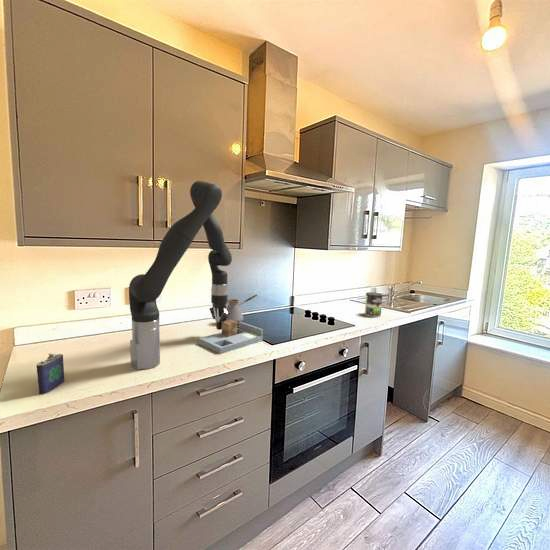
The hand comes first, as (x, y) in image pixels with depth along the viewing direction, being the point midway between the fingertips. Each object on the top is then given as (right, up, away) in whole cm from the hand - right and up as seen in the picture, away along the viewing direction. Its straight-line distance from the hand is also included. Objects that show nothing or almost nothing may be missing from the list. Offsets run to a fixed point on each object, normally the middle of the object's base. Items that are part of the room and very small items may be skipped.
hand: (219, 329), depth 143 cm
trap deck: (+7, -5, -5) cm, 10 cm away
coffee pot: (+7, -1, +27) cm, 28 cm away
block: (+5, -2, -2) cm, 6 cm away
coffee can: (+90, -1, +53) cm, 105 cm away
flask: (-42, -9, -49) cm, 66 cm away
